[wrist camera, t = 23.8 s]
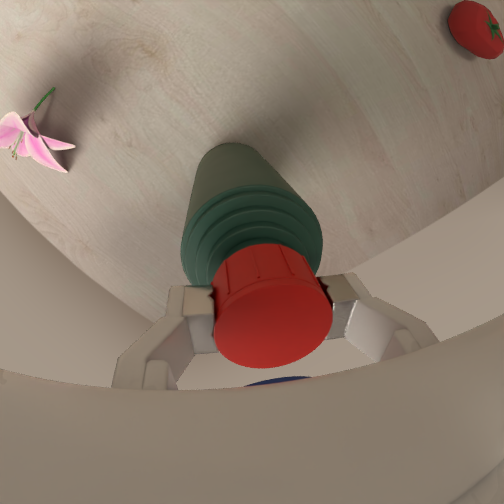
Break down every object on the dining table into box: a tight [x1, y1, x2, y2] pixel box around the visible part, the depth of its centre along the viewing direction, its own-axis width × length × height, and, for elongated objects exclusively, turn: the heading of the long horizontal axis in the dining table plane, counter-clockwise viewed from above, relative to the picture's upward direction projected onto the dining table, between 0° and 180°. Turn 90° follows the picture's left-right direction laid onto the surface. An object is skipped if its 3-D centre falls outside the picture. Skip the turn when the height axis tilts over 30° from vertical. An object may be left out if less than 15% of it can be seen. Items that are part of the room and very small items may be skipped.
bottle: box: [181, 143, 323, 285], centre depth 17 cm, size 7×7×18 cm
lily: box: [0, 87, 75, 173], centre depth 15 cm, size 12×12×10 cm
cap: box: [211, 244, 333, 368], centre depth 9 cm, size 4×4×2 cm
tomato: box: [448, 0, 504, 59], centre depth 14 cm, size 8×8×7 cm
